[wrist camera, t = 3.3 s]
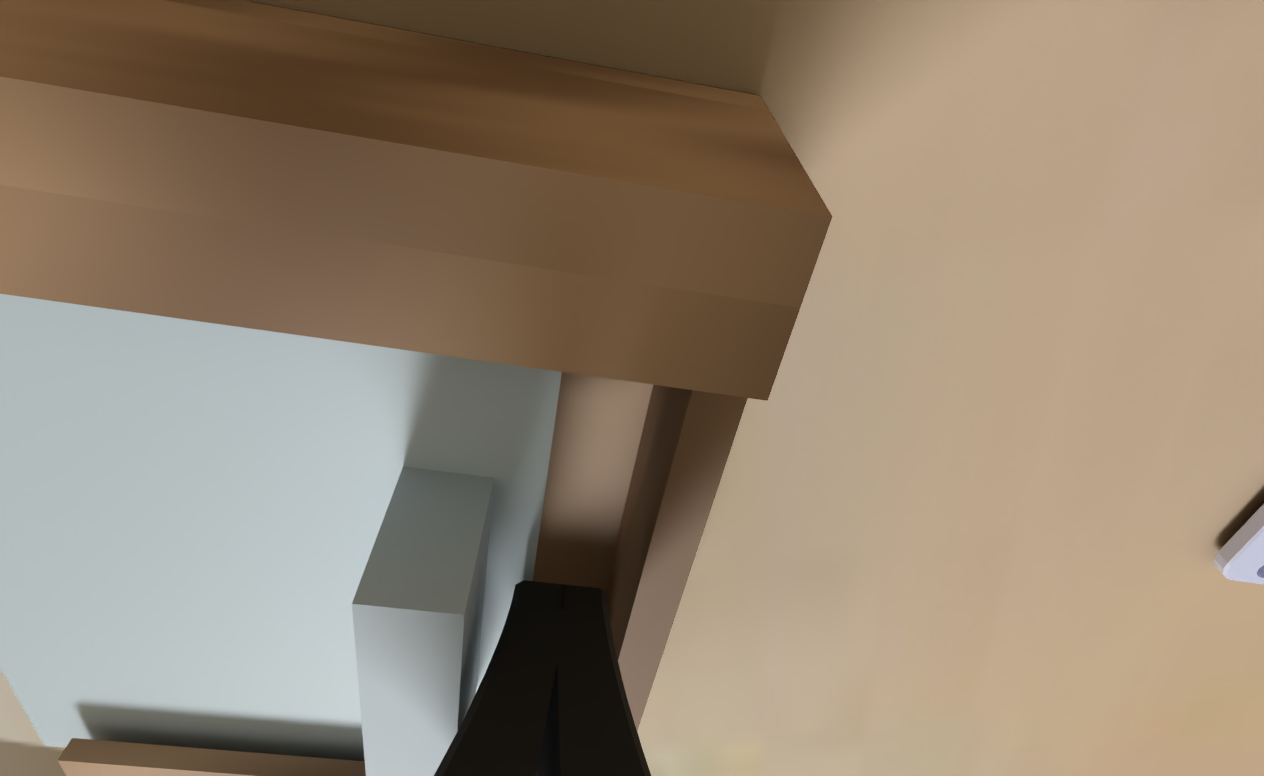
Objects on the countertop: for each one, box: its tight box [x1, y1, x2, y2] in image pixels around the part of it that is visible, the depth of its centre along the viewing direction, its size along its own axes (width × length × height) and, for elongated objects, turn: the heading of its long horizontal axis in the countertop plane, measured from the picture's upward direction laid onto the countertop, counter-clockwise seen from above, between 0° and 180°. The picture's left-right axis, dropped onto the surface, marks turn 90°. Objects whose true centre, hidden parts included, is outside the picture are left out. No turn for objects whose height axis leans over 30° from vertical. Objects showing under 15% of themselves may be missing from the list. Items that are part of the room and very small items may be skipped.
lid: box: [0, 294, 562, 776], centre depth 10 cm, size 9×11×3 cm
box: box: [0, 0, 832, 776], centre depth 12 cm, size 10×14×4 cm
